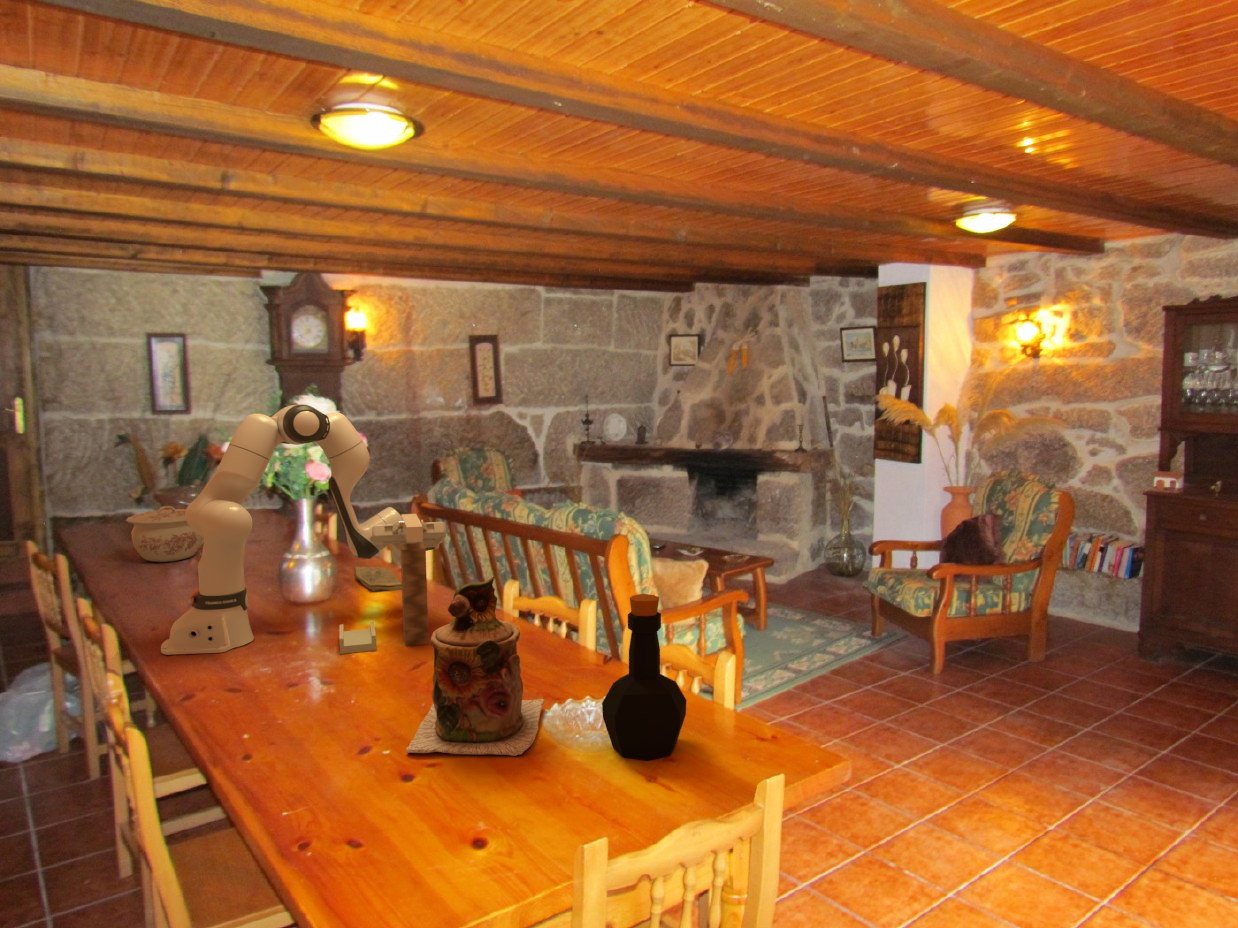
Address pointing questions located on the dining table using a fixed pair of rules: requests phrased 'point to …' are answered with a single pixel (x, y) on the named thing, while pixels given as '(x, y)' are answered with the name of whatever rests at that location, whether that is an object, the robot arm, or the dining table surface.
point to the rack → (357, 640)
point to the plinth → (414, 594)
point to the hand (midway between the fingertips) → (410, 523)
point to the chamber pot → (164, 535)
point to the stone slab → (377, 578)
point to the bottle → (644, 692)
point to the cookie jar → (477, 683)
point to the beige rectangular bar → (412, 528)
